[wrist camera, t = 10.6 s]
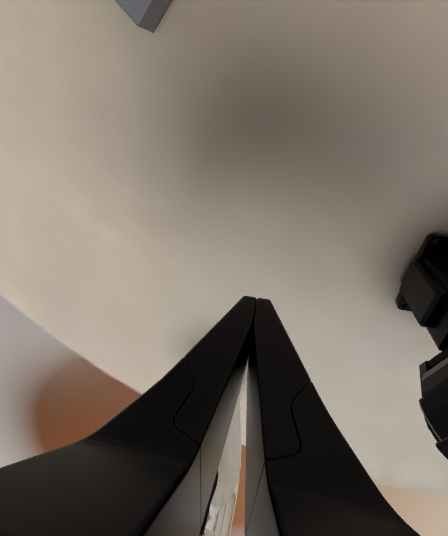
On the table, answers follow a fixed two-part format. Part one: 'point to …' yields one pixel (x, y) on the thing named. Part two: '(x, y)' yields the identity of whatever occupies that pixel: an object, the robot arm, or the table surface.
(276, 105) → the table surface
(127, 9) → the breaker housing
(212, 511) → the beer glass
